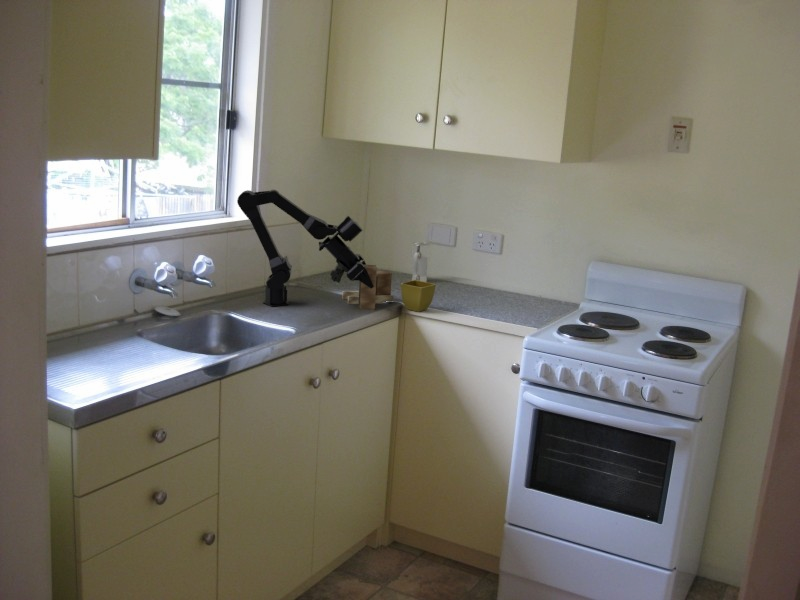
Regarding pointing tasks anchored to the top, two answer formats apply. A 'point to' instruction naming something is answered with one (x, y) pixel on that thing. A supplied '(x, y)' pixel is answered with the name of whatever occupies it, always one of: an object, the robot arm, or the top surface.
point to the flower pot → (417, 294)
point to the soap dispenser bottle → (420, 260)
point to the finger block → (368, 290)
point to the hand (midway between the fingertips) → (372, 284)
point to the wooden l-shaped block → (381, 289)
